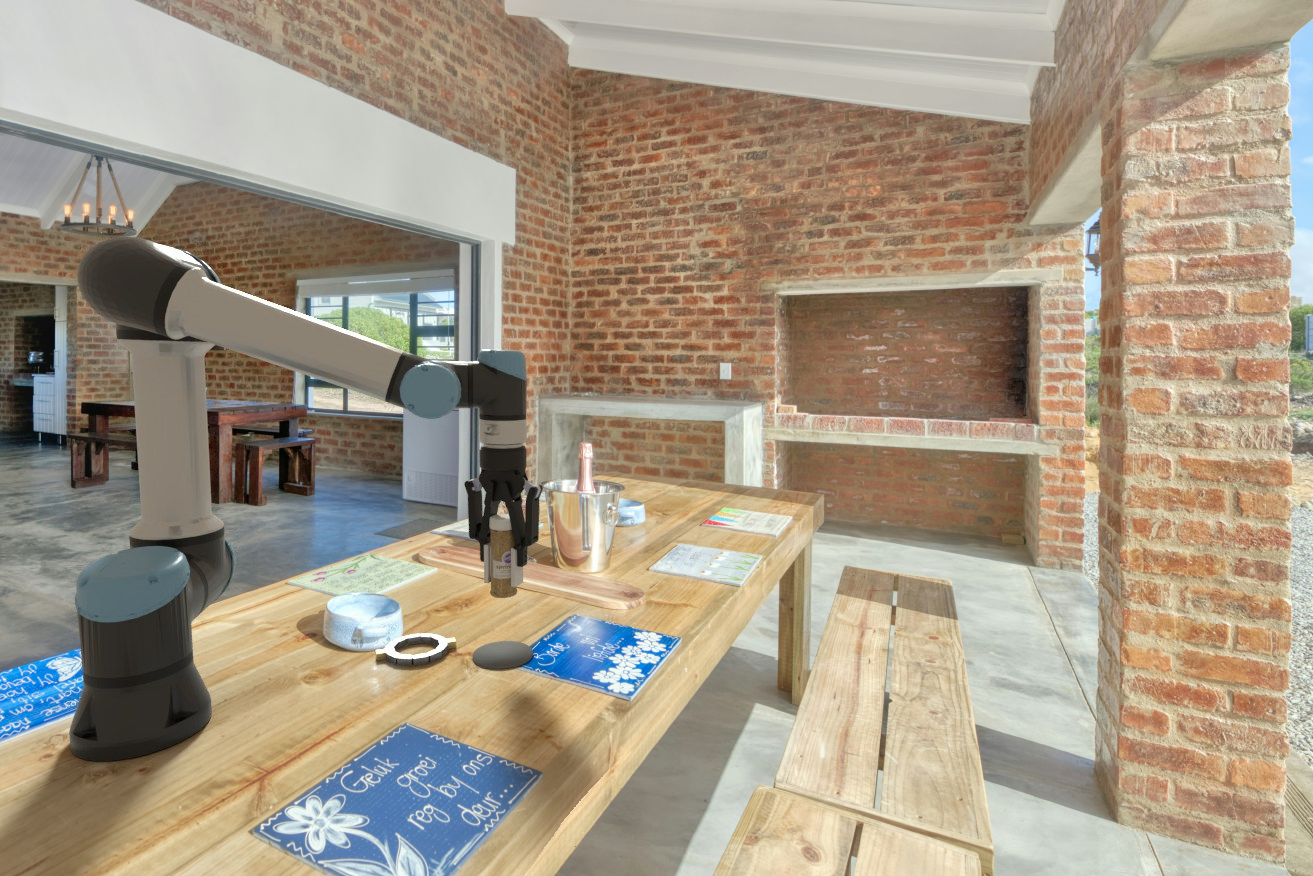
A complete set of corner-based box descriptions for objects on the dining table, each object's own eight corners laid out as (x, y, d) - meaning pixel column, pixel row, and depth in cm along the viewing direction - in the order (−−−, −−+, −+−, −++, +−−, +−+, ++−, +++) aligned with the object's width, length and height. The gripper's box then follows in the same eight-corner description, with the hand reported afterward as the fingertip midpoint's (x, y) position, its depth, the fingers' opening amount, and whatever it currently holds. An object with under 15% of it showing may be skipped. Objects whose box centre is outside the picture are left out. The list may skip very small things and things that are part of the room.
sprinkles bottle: (501, 601, 111) (501, 521, 110) (484, 594, 114) (483, 516, 113) (523, 594, 115) (523, 516, 113) (506, 587, 118) (505, 511, 116)
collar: (379, 671, 109) (379, 664, 109) (374, 646, 118) (373, 640, 118) (460, 657, 115) (460, 650, 115) (450, 634, 124) (450, 628, 123)
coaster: (479, 673, 109) (479, 671, 109) (467, 648, 118) (467, 646, 118) (540, 662, 114) (540, 660, 114) (523, 639, 123) (523, 637, 122)
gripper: (443, 444, 110) (445, 582, 113) (539, 451, 105) (539, 597, 108) (470, 438, 118) (471, 569, 121) (561, 445, 112) (560, 582, 115)
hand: (503, 582), depth 114 cm, fingers closed on sprinkles bottle, 4 cm apart
